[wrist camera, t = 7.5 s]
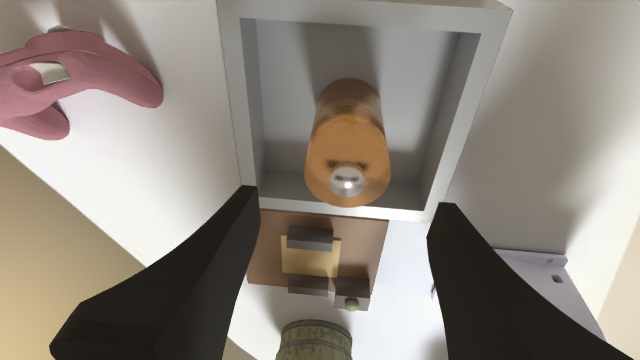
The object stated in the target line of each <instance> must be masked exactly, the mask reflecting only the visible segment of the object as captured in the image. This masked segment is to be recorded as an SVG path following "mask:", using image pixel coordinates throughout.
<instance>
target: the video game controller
mask: <svg viewBox="0 0 640 360" xmlns="http://www.w3.org/2000/svg"><path fill="white" fill-rule="evenodd" d="M86 89H100V90H103V91H107V92H110V93H112V94H115V95H117V96H120V97H122V98H124V99H126V100H128V101H130V102H133V103H135V104H137V105H139V106H142V107H148V108H156V107H157V106H159V105H161V103H162V102H163V90H162V88H161V86H160V84H159V83H158V81H157V80H156V78H155V77H154V76H153V75H152V74H151V73H150V71H149V70H147V69H146V68H145V67H144V66H143V65H142V64H141V63H139V62H138V61H136V60H135V59H134V58H132V57H131V56H129V55H127V54H126V53H124V52H122V51H120V50H119V49H117V48H115V47H113V46H111V45H109V44H107V43H104V41H103V40H102V38H101V37H100V36H98V35H95V34H92V33H88V32H82V31H76V30H74V29H73V28H71V27H67V26H63V25H60V26H55V27H53V28H51V29H49V30H48V32H47V33H46V34H42V35H39V36H36V37H33V38H32V39H30V40H29V41H28V42H26V45H25V48H21V49H17V50H14V51H10V52H7V53H4V54H0V127H5V128H8V129H12V130H15V131H18V132H21V133H24V134H27V135H30V136H33V137H36V138H40V139H44V140H60V139H63V138H65V137H66V136H67V135H68V134H69V131H70V125H69V123H68V121H67V120H66V118H65V117H64V116H63V115H62V114H61V113H60V112H59V111H58V110H56V109H55V108H54V107H52V106H51V104H53V103H54V102H55V101H56V100H58V99H61V98H64V97H67V96H70V95H73V94H76V93H78V92H81V91H84V90H86Z"/></svg>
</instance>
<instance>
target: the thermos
mask: <svg viewBox="0 0 640 360" xmlns="http://www.w3.org/2000/svg"><path fill="white" fill-rule="evenodd" d="M351 348H352V338H351V336H350V334H349V333H348V332H347V331H346V330H345V329H344V328H342V327H340V326H338V325H336V324H334V323H330V322H326V321H321V320H301V321H297V322H294V323H290V324H289V325H288V326H286V327H285V328H284V329H283V331H282V334H281V343H280V349H279V351H278V353H277V354H276V359H275V360H352V357H351Z"/></svg>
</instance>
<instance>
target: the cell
mask: <svg viewBox="0 0 640 360" xmlns="http://www.w3.org/2000/svg"><path fill="white" fill-rule="evenodd" d="M304 177H305V181H306V184H307V186H308V188H309V190H310V191H311V192H312V193H313V194H314V195H315V196H316V197H317V198H318V199H320V200H321V201H323V202H325V203H327V204H330V205H332V206H336V207H342V208H353V207H359V206H363V205H366V204H369V203H371V202H373V201H374V200H376V199H377V198H379V197H380V196H381V195H382V194H383V193H384V191H385V190H386V189H387V187H388V185H389V182H390V178H391V168H390V162H389V155H388V149H387V142H386V136H385V130H384V123H383V117H382V110H381V104H380V99H379V96H378V94H377V92H376V91H375V90H374V88H373V87H372V86H370V85H369V84H368V83H366V82H364V81H362V80H359V79H356V78H343V79H339V80H336V81H334V82H332V83H330V84H329V85H328V86H327V87H325V88H324V90H323V91H322V92H321V94H320V96H319V98H318V101H317V106H316V112H315V117H314V122H313V127H312V132H311V137H310V142H309V147H308V152H307V158H306V163H305V168H304Z"/></svg>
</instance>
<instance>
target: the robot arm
mask: <svg viewBox="0 0 640 360" xmlns="http://www.w3.org/2000/svg"><path fill="white" fill-rule="evenodd" d="M260 225H261V217H260V207H259V197H258V187H257V186H250V185H242V186H240V187H239V189H238V190H237V191H236V192H235V193H234V194H233V195H232V196H231V197H230V198H229V199H228V201H227V202H226V203H225V204H224V205H223V206H222V207H221V208H220V209H219V210H218V211H217V212H216V213H215V214H214V215H213V216H212V217H211V218H210V219H209V220H208V221H207V222H206V223H204V224H203V225H202V226H201V227H200V228H199V229H198V230H197V231H196V232H194V233H193V234H192V235H191V236H190V237H189V238H187V239H186V240H185V241H184V242H182V243H181V244H180V245H179V246H177V247H176V248H175V249H173V250H172V251H171V252H169V253H168V254H166V255H165V256H164V257H162V258H161V259H159V260H158V261H156V262H155V263H153V264H152V265H150V266H149V267H147V268H145V269H144V270H142V271H140V272H139V273H137V274H135V275H134V276H132V277H130V278H128V279H126V280H125V281H123V282H121V283H119V284H117V285H115V286H114V287H112V288H110V289H108V290H105V291H103V292H101V293H99V294H97V295H96V296H93V297H91V298H89V299H87V300H85V301H83V302H81V303H80V304H79V305H78V306H77V307H76V309H75V310H74V311H73V312H72V314H71V315H70V316H69V318H68V319H67V321H66V322H65V324H64V325H63V326H62V328H61V329H60V331H59V332H58V333H57V335H56V336H55V338H54V339H53V341H52V342H51V343H50V345H49V348H50V352H51V355H52V356H53V357H54V358H55V360H222V356H223V351H224V347H225V342H226V339H227V334H228V330H229V326H230V322H231V318H232V314H233V310H234V306H235V302H236V299H237V296H238V293H239V290H240V287H241V285H242V282H243V279H244V276H245V274H246V271H247V268H248V265H249V263H250V260H251V257H252V254H253V252H254V249H255V246H256V242H257V238H258V234H259V229H260ZM426 238H427V249H428V257H429V263H430V268H431V272H432V276H433V280H434V284H435V288H434V290H433V293H432V295H431V298H432V300H433V301H435V302H439V304H440V308H441V312H442V317H443V322H444V328H445V335H446V342H447V349H448V358H449V360H634V359H632V358H631V357H629V356H627V355H626V354H624V353H623V352H621V351H619V350H618V349H616V348H615V347H613V346H611V345H610V344H608V343H607V342H606V340H605V338H604V335H603V333H602V331H601V329H600V327H599V325H598V324H597V322H596V320H595V318H594V317H593V315H592V313H591V312H590V310H589V308H588V307H587V305H586V303H585V302H584V300H583V298H582V297H581V295H580V293H579V292H578V290H577V288H576V287H575V285H574V283H573V282H572V280H571V278H570V277H569V275H568V273H567V271H566V270H565V268H564V266H565V265H566V264H567V262H568V259H567V257H566V256H564V255H557V254H546V253H535V252H524V251H513V250H502V249H493V248H492V247H491V246H490V245H489V244H488V243H487V242H486V241H485V239H484V238H483V237H482V236H481V235H480V234H479V232H478V231H477V230H476V229H475V228H474V226H473V225H472V224H471V223H470V221H469V220H468V219H467V218H466V216H465V215H464V214H463V213H462V211H461V210H460V209H459V208H458V207H457V205H456V204H455V203H446V202H439V203H438V206H437V209H436V212H435V215H434V217H433V220H432V223H431V226H430V229H429V231H428V234H427V237H426Z"/></svg>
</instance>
